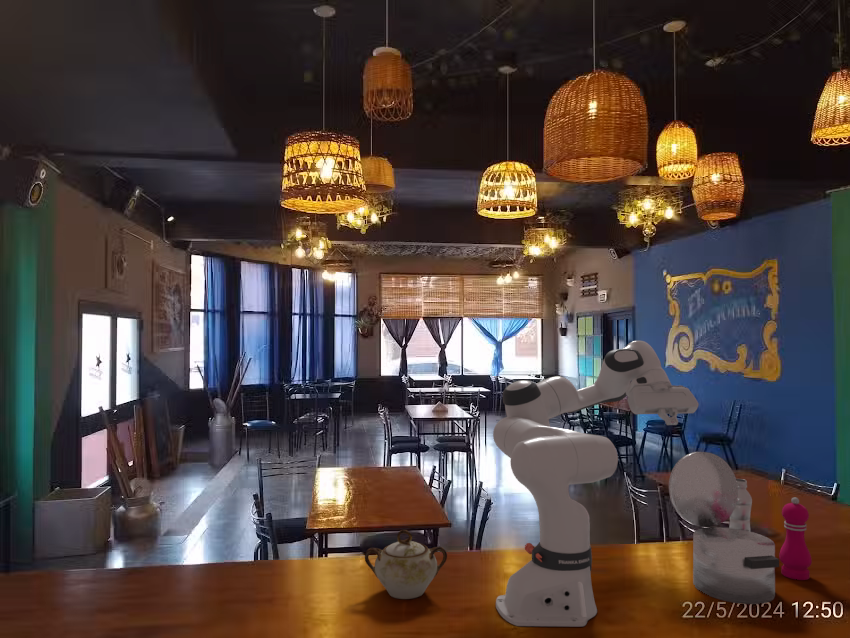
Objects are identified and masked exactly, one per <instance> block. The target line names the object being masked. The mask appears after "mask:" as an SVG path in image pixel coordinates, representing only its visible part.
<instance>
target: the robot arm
mask: <svg viewBox="0 0 850 638" xmlns="http://www.w3.org/2000/svg"><path fill="white" fill-rule="evenodd" d="M602 361H603V362H602V365H601V368H600V371H599V374H598V376H597V378H596V380H595V381H594V382H593V383H592V384H591V385H588V386H586V387H582V388H579V389H577V387H575V385H574V384H573V383H572V382H571V381H570V380H569V379H567V378H566V377H564V376H560V375H556V376H551V377H548V378H545V379H543V380H541V381H539V382H537V383H535V382H534V381H532V380H528V379H524V380H516V381H513V382H511V383H510V384H508V385H506V387H504V390H503V391H502V402H503V405H504V409H505V413H506V414H505V415H506V416H505V417H503V418H501V419H500V420H499V421H498V422H497V423H496V424H495V426H494V428H493V431H492V432H493V433H492V436H493V441H494V442H495V445H496V446H497V447H498V449H499V450H500V451H501V452H502V453H504V455H505V456H507V457H508V458H510V460H509V461H510V462H509V463H510V469H511V471H512V474H513V476H514V477H515V479H516V480H517V481H518V482H519V484H521V485H523V486H524V487H525V488H526V489H527V490H528V491H529V493H531V496H533V498H534V501H535V505H536V506H537V511H538V519H539V520H538V521H539V522H538V523H539V542H538V543H537V545H536V546H534V545H533V544H532V543H531V542H526V544H525V545H524V550H525V551H526V552H527V553H528V554H529V555H531V560H529V561H528V562H527V563H526V564H525V565H524V566H522V567H521V568H519V569H518V570H517V571H515V572H514V573H513V574H511V575H510V577H509V578H508V579H507V583H506V589H505V594H503V595H502V594H501V595H498V596H497V597H496V599H495V608H496V611H497V612H498V614H499V615H500V616H501V618H502V619H504V620H505V621H506V622H508V623H510V624H511V625H514V626H516V627H571V628H572V627H576V628H577V627H585V626H587V623H588V621H589V620H590V619H592V618H594V617H595V616H596V615H597V613H598V609H597V605H596V602H595V598H594V597H595V596H594V592H593V586H592V577H591V571H592V568H593V567H592V564H593V562H592V561H593V555H592V551H593V550H592V546H591V543H590V532H591V531H590V524H591V522H590V514H589V512H588V510H587V508H586V507H585V506H584V505H583V504H581V503H580V502H578V501H576V500H575V499H572V498H571V496H570V490H569V487H570V486H571V485H580V484H581V485H582V484H590V483H591V484H592V483H595V482H599V481H602V480H605V479H608V478H610V477H612V476H613V475H614V474H615V472H616V470H617V467H618V462H619V456H618V451H617V449H616V447H615V445H614V443H613V442H612V441H611V440H610V439H609V438H608V437H607V436H602V435H599V434H591V433H585V432H579V431H575V430H571V429H565V428H559V427H554V426H551V424H550V419H553V418H555V417H557V416H560V415H562V414H565V413H566V414H569V413H575V412H579V411H582V410H585V409H589V408H592V407H594V406H597V405H599V404H604V403H605V404H606V403H615V402H619V401H622V400H624V399H625V398H626V397H627V404H628V407H629V410H630V411H631V412H632V414H634V415H658V417H659V418H660V419H662V420H663V421H664V422H665V424H666V426H677V425H678V424H679V420H678V418H677V416H678V414H694V413H695V412H696V411H697V410H698V408H699V404H700V403H699V402H698V400H697V399H696V397H695V395H694V394H693V393H692V391H690V388H688V387H686V386H684V385H681V384H679V385H673V384H672V383H671V381H670V379H669V376H668V375H667V373H666V370H665V369H663V367H662V364H661V360H660V359H659V357H658V355H657V353H656V351H655V349H654V348H653V347H652V346H651V344H649V343H648V342H646V341H644V340H633V341H631V342H629V343H628V344H627V345H626V346H625V347H623V348H621V349H620V348H618V349H612V350H610V351H608V352H607V353H606V355H604V359H603V360H602Z"/></svg>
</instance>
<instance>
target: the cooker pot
mask: <svg viewBox="0 0 850 638" xmlns="http://www.w3.org/2000/svg"><path fill="white" fill-rule="evenodd" d="M750 531H751V530H750ZM750 531H745V530H740V529H733V528H729V527H719V526H718V527H717V526H712V527H699V529H697V530H695V531H694V532H693V535H692V536H693V537H692V539H693V540H692V543H693V544H692V546H693V548H692V550H693V551H692V552H693V553H692V557H693V558H692V560H693V561H692V562H693V565H692V566H693V567H692V574H693V575H692V579H693V580H692V583H693V586H694V585H695V586H694V587H695V588H696V589H697V590H698V591H699V590H700V591H699V592H701V591H702V592H703V594H704V593H705V594H704V595H706V594H707V595H706V596H708V595H709V596H708V597H710V598H711V597H712V598H715V599H717V600H721V601H725V602H728V603H735V604H741V603H742V604H743V605H760V603H761V604H766V603H770V602H772V601H773V600H774V599H775V597H776V568H779V567H780V558H777V557H776V544H775V542H774V541H773V540H772V539H770V538H769V537H767V536H766V535H763V534H759V533H757V532H754V531H751V532H750ZM702 592H701V593H702Z"/></svg>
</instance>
